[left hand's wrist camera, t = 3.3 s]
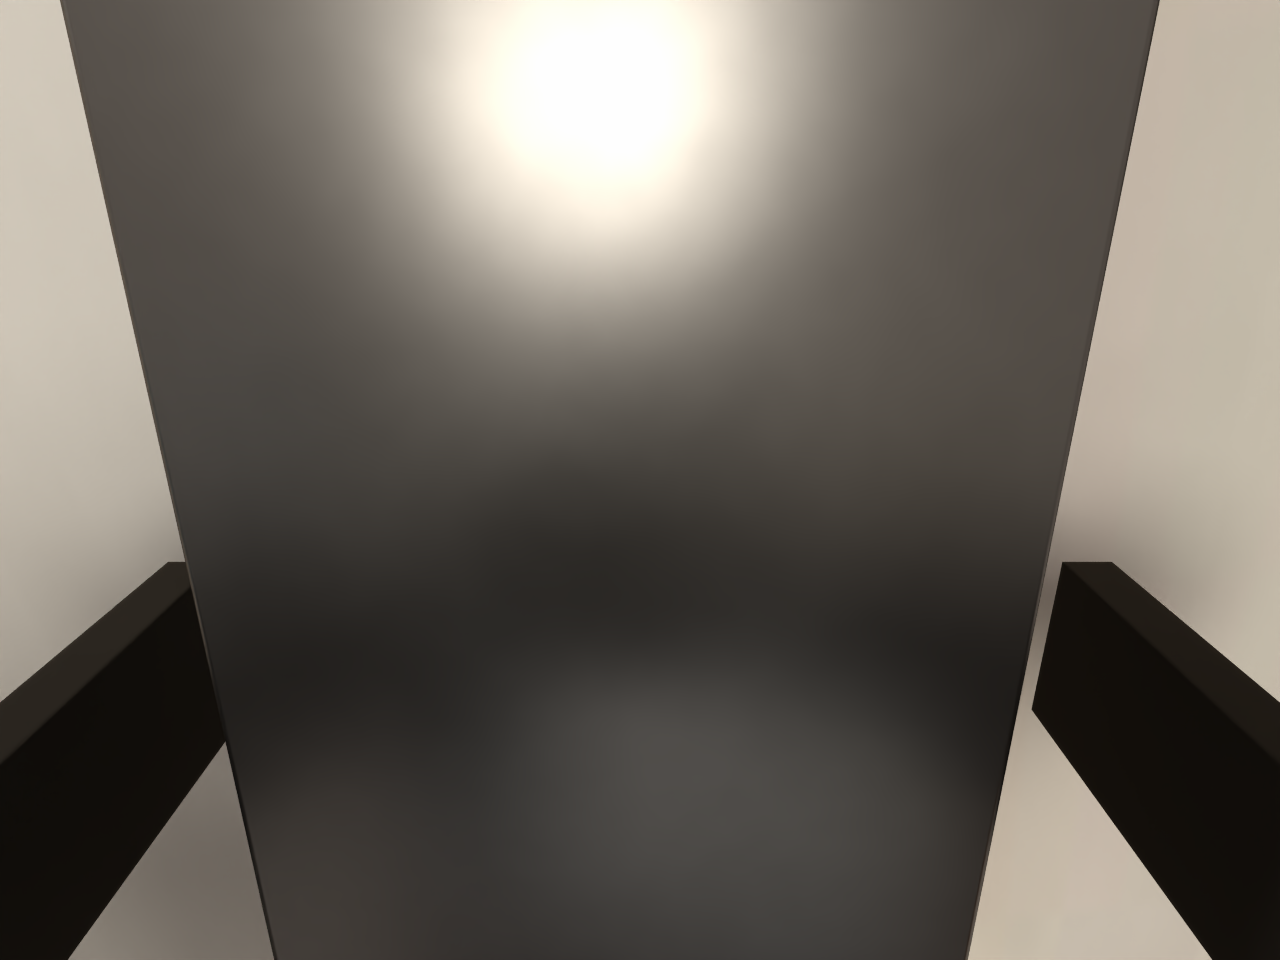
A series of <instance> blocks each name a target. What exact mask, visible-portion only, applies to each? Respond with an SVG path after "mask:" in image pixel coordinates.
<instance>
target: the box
mask: <svg viewBox="0 0 1280 960" xmlns="http://www.w3.org/2000/svg"><path fill="white" fill-rule="evenodd" d="M1159 1H1160V0H60V2H61V7H62V11H63V16H64V20H65V25H66V29H67V34H68V38H69V42H70V47H71V51H72V56H73V60H74V65H75V69H76V74H77V78H78V83H79V87H80V92H81V96H82V101H83V105H84V110H85V114H86V119H87V123H88V128H89V132H90V137H91V141H92V145H93V150H94V154H95V159H96V163H97V168H98V172H99V177H100V181H101V186H102V190H103V195H104V199H105V204H106V208H107V213H108V217H109V222H110V226H111V231H112V235H113V239H114V244H115V248H116V253H117V257H118V262H119V266H120V271H121V275H122V280H123V284H124V289H125V293H126V298H127V302H128V307H129V311H130V316H131V320H132V325H133V329H134V334H135V338H136V342H137V347H138V351H139V356H140V360H141V365H142V369H143V374H144V378H145V383H146V387H147V392H148V396H149V401H150V405H151V410H152V414H153V419H154V423H155V428H156V432H157V437H158V441H159V445H160V450H161V454H162V459H163V463H164V468H165V472H166V477H167V481H168V486H169V490H170V495H171V499H172V504H173V508H174V513H175V517H176V522H177V526H178V531H179V535H180V540H181V544H182V548H183V553H184V557H185V562H186V566H187V571H188V575H189V580H190V584H191V589H192V593H193V598H194V602H195V607H196V611H197V616H198V620H199V625H200V629H201V634H202V638H203V643H204V647H205V651H206V656H207V660H208V665H209V669H210V674H211V678H212V683H213V687H214V692H215V696H216V701H217V705H218V710H219V714H220V719H221V723H222V728H223V732H224V737H225V741H226V746H227V750H228V754H229V759H230V763H231V768H232V772H233V777H234V781H235V786H236V790H237V795H238V799H239V804H240V808H241V813H242V817H243V822H244V826H245V831H246V835H247V840H248V844H249V849H250V853H251V857H252V862H253V866H254V871H255V875H256V880H257V884H258V889H259V893H260V898H261V902H262V907H263V911H264V916H265V920H266V925H267V929H268V934H269V938H270V943H271V947H272V951H273V956H274V960H968V956H969V951H970V946H971V941H972V936H973V931H974V926H975V921H976V916H977V911H978V906H979V901H980V896H981V891H982V886H983V881H984V876H985V871H986V866H987V861H988V856H989V851H990V846H991V841H992V836H993V831H994V826H995V821H996V816H997V811H998V806H999V801H1000V796H1001V791H1002V786H1003V781H1004V776H1005V771H1006V766H1007V761H1008V756H1009V751H1010V746H1011V741H1012V736H1013V731H1014V726H1015V721H1016V716H1017V711H1018V706H1019V701H1020V696H1021V691H1022V686H1023V681H1024V676H1025V671H1026V666H1027V661H1028V656H1029V651H1030V646H1031V641H1032V636H1033V631H1034V626H1035V621H1036V616H1037V611H1038V606H1039V601H1040V596H1041V591H1042V586H1043V581H1044V576H1045V571H1046V566H1047V561H1048V556H1049V551H1050V546H1051V541H1052V536H1053V531H1054V526H1055V521H1056V516H1057V511H1058V506H1059V501H1060V496H1061V491H1062V486H1063V481H1064V476H1065V471H1066V466H1067V461H1068V456H1069V451H1070V446H1071V441H1072V436H1073V431H1074V426H1075V421H1076V416H1077V411H1078V406H1079V401H1080V396H1081V391H1082V386H1083V381H1084V376H1085V371H1086V366H1087V361H1088V356H1089V351H1090V346H1091V341H1092V336H1093V331H1094V326H1095V321H1096V316H1097V311H1098V306H1099V301H1100V296H1101V291H1102V286H1103V281H1104V276H1105V271H1106V266H1107V261H1108V256H1109V251H1110V246H1111V241H1112V236H1113V231H1114V226H1115V221H1116V216H1117V211H1118V206H1119V201H1120V196H1121V191H1122V186H1123V181H1124V176H1125V171H1126V166H1127V161H1128V156H1129V151H1130V146H1131V141H1132V136H1133V131H1134V126H1135V121H1136V116H1137V111H1138V106H1139V101H1140V96H1141V91H1142V86H1143V81H1144V76H1145V71H1146V66H1147V61H1148V56H1149V51H1150V46H1151V41H1152V36H1153V31H1154V26H1155V21H1156V16H1157V11H1158V6H1159Z"/></svg>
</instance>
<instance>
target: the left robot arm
mask: <svg viewBox="0 0 1280 960" xmlns="http://www.w3.org/2000/svg"><path fill="white" fill-rule="evenodd" d="M1032 711H1033V712H1034V714H1035V715H1036V716H1037V718H1038V719H1039V720H1040V722H1041V723H1042V725H1043V726H1044V727H1045V729H1046V730H1047V732H1048V733H1049V734H1050V736H1051V737H1052V738H1053V740H1054V741H1055V743H1056V744H1057V745H1058V747H1059V748H1060V750H1061V751H1062V752H1063V754H1064V755H1065V756H1066V758H1067V759H1068V761H1069V762H1070V763H1071V765H1072V766H1073V768H1074V769H1075V770H1076V772H1077V773H1078V774H1079V776H1080V777H1081V779H1082V780H1083V781H1084V783H1085V784H1086V786H1087V787H1088V788H1089V790H1090V791H1091V792H1092V794H1093V795H1094V797H1095V798H1096V799H1097V801H1098V802H1099V804H1100V805H1101V806H1102V808H1103V809H1104V810H1105V812H1106V813H1107V815H1108V816H1109V817H1110V819H1111V820H1112V822H1113V823H1114V824H1115V826H1116V827H1117V828H1118V830H1119V831H1120V833H1121V834H1122V835H1123V837H1124V838H1125V840H1126V841H1127V842H1128V844H1129V845H1130V846H1131V848H1132V849H1133V851H1134V852H1135V853H1136V855H1137V856H1138V858H1139V859H1140V860H1141V862H1142V863H1143V864H1144V866H1145V867H1146V869H1147V870H1148V871H1149V873H1150V874H1151V876H1152V877H1153V878H1154V880H1155V881H1156V882H1157V884H1158V885H1159V887H1160V888H1161V889H1162V891H1163V892H1164V894H1165V895H1166V896H1167V898H1168V899H1169V900H1170V902H1171V903H1172V905H1173V906H1174V907H1175V909H1176V910H1177V912H1178V913H1179V914H1180V916H1181V917H1182V918H1183V920H1184V921H1185V923H1186V924H1187V925H1188V927H1189V928H1190V930H1191V931H1192V932H1193V934H1194V935H1195V936H1196V938H1197V939H1198V941H1199V942H1200V943H1201V945H1202V946H1203V948H1204V949H1205V950H1206V952H1207V953H1208V954H1209V956H1210V957H1211V959H1212V960H1280V702H1279V701H1277V700H1276V699H1275V698H1274V697H1273V696H1271V695H1270V694H1269V693H1268V692H1267V691H1265V690H1264V689H1263V688H1262V687H1261V686H1259V685H1258V684H1257V683H1256V682H1255V681H1253V680H1252V679H1251V678H1250V677H1249V676H1247V675H1246V674H1245V673H1244V672H1243V671H1241V670H1240V669H1239V668H1238V667H1237V666H1236V665H1234V664H1233V663H1232V662H1231V661H1230V660H1228V659H1227V658H1226V657H1225V656H1224V655H1222V654H1221V653H1220V652H1219V651H1218V650H1216V649H1215V648H1214V647H1213V646H1212V645H1210V644H1209V643H1208V642H1207V641H1206V640H1204V639H1203V638H1202V637H1201V636H1200V635H1198V634H1197V633H1196V632H1195V631H1194V630H1192V629H1191V628H1190V627H1189V626H1188V625H1186V624H1185V623H1184V622H1183V621H1182V620H1181V619H1179V618H1178V617H1177V616H1176V615H1175V614H1173V613H1172V612H1171V611H1170V610H1169V609H1167V608H1166V607H1165V606H1164V605H1163V604H1161V603H1160V602H1159V601H1158V600H1157V599H1155V598H1154V597H1153V596H1152V595H1151V594H1149V593H1148V592H1147V591H1146V590H1145V589H1143V588H1142V587H1141V586H1140V585H1139V584H1137V583H1136V582H1135V581H1134V580H1133V579H1132V578H1130V577H1129V576H1128V575H1127V574H1126V573H1124V572H1123V571H1122V570H1121V569H1120V568H1118V567H1117V566H1116V565H1115V564H1114V563H1112V562H1062V567H1061V571H1060V576H1059V581H1058V586H1057V591H1056V595H1055V600H1054V605H1053V610H1052V614H1051V619H1050V624H1049V629H1048V634H1047V638H1046V643H1045V648H1044V653H1043V657H1042V662H1041V667H1040V672H1039V677H1038V681H1037V686H1036V691H1035V696H1034V700H1033V705H1032ZM224 743H225V737H224V732H223V728H222V723H221V719H220V714H219V710H218V705H217V701H216V696H215V692H214V687H213V683H212V678H211V674H210V669H209V665H208V660H207V656H206V651H205V647H204V643H203V638H202V634H201V629H200V625H199V620H198V616H197V611H196V607H195V602H194V598H193V593H192V589H191V584H190V580H189V575H188V571H187V566H186V562H168V563H166V564H165V565H164V566H163V567H162V568H160V569H159V570H158V571H157V572H156V573H154V574H153V575H152V576H151V577H150V578H148V579H147V580H146V581H145V582H144V583H143V584H141V585H140V586H139V587H138V588H137V589H135V590H134V591H133V592H132V593H131V594H129V595H128V596H127V597H126V598H125V599H123V600H122V601H121V602H120V603H119V604H117V605H116V606H115V607H114V608H113V609H111V610H110V611H109V612H108V613H107V614H105V615H104V616H103V617H102V618H101V619H99V620H98V621H97V622H96V623H95V624H94V625H92V626H91V627H90V628H89V629H88V630H86V631H85V632H84V633H83V634H82V635H80V636H79V637H78V638H77V639H76V640H74V641H73V642H72V643H71V644H70V645H68V646H67V647H66V648H65V649H64V650H62V651H61V652H60V653H59V654H58V655H56V656H55V657H54V658H53V659H52V660H50V661H49V662H48V663H47V664H46V665H44V666H43V667H42V668H41V669H40V670H39V671H37V672H36V673H35V674H34V675H33V676H31V677H30V678H29V679H28V680H27V681H25V682H24V683H23V684H22V685H21V686H19V687H18V688H17V689H16V690H15V691H13V692H12V693H11V694H10V695H9V696H7V697H6V698H5V699H4V700H3V701H1V702H0V960H68V959H69V957H70V956H71V954H72V953H73V952H74V950H75V949H76V948H77V946H78V945H79V943H80V942H81V941H82V939H83V938H84V936H85V935H86V934H87V932H88V931H89V930H90V928H91V927H92V925H93V924H94V923H95V921H96V920H97V918H98V917H99V916H100V914H101V913H102V912H103V910H104V909H105V907H106V906H107V905H108V903H109V902H110V900H111V899H112V898H113V896H114V895H115V894H116V892H117V891H118V889H119V888H120V887H121V885H122V884H123V882H124V881H125V880H126V878H127V877H128V876H129V874H130V873H131V871H132V870H133V869H134V867H135V866H136V864H137V863H138V862H139V860H140V859H141V858H142V856H143V855H144V853H145V852H146V851H147V849H148V848H149V846H150V845H151V844H152V842H153V841H154V840H155V838H156V837H157V835H158V834H159V833H160V831H161V830H162V828H163V827H164V826H165V824H166V823H167V822H168V820H169V819H170V817H171V816H172V815H173V813H174V812H175V810H176V809H177V808H178V806H179V805H180V804H181V802H182V801H183V799H184V798H185V797H186V795H187V794H188V792H189V791H190V790H191V788H192V787H193V786H194V784H195V783H196V781H197V780H198V779H199V777H200V776H201V774H202V773H203V772H204V770H205V769H206V768H207V766H208V765H209V763H210V762H211V761H212V759H213V758H214V756H215V755H216V754H217V752H218V751H219V750H220V748H221V747H222V745H223V744H224Z"/></svg>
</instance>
